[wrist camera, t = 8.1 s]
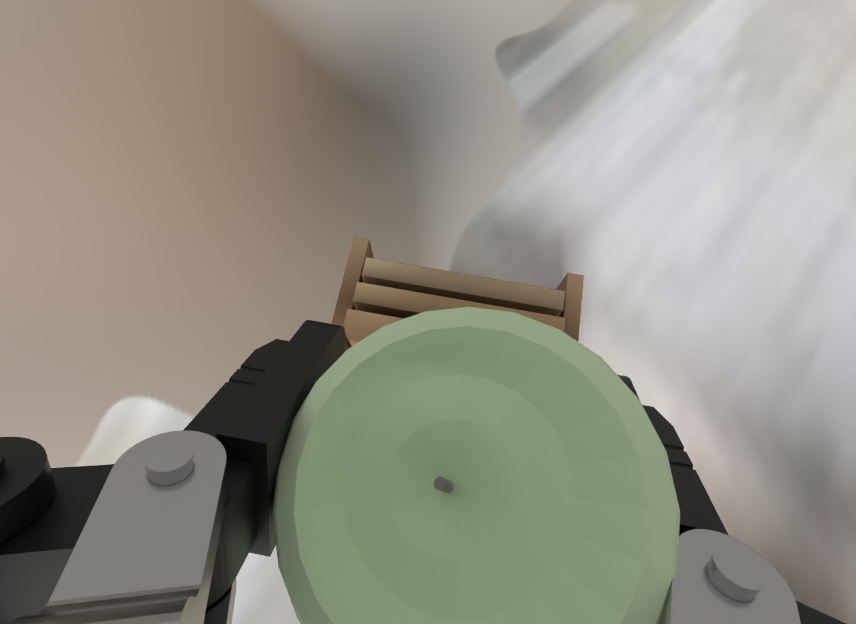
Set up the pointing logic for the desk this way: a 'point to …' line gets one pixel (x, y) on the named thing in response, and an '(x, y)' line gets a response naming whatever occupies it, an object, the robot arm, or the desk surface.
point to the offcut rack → (441, 295)
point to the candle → (474, 482)
